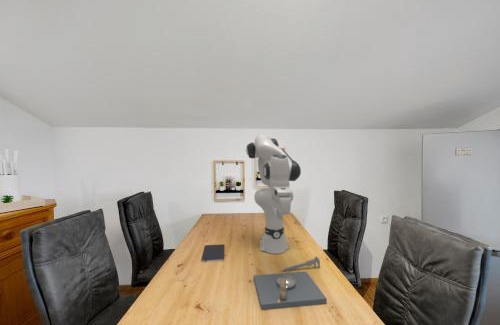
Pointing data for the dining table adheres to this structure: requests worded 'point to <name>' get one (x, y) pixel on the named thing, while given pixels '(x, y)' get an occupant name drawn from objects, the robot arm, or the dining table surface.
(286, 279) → the wooden knob lever
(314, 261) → the caliper
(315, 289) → the base plate
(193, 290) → the dining table surface
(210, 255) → the notebook
